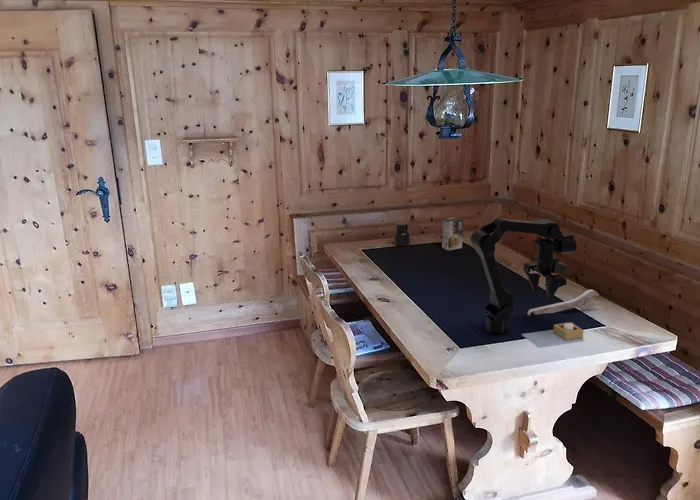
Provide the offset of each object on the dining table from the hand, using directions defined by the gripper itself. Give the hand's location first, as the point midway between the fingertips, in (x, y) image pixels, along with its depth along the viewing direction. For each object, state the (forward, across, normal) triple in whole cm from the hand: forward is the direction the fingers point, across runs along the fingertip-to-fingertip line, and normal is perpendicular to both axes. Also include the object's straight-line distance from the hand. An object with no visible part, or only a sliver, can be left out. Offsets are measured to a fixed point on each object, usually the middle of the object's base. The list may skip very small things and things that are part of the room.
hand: (542, 296), depth 206 cm
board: (+12, -11, +2) cm, 16 cm away
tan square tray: (+11, -11, -4) cm, 16 cm away
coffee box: (+12, +102, -12) cm, 103 cm away
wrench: (+12, +9, -16) cm, 22 cm away
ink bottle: (+12, +117, +11) cm, 118 cm away
